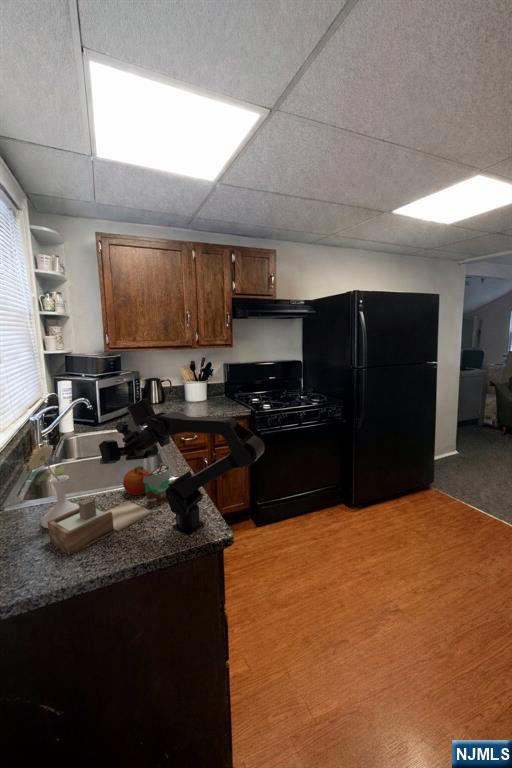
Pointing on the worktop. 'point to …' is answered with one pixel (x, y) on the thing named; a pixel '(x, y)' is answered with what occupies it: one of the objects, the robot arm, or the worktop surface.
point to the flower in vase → (58, 482)
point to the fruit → (135, 481)
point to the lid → (82, 515)
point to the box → (79, 532)
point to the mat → (127, 515)
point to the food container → (157, 484)
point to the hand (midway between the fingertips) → (113, 460)
